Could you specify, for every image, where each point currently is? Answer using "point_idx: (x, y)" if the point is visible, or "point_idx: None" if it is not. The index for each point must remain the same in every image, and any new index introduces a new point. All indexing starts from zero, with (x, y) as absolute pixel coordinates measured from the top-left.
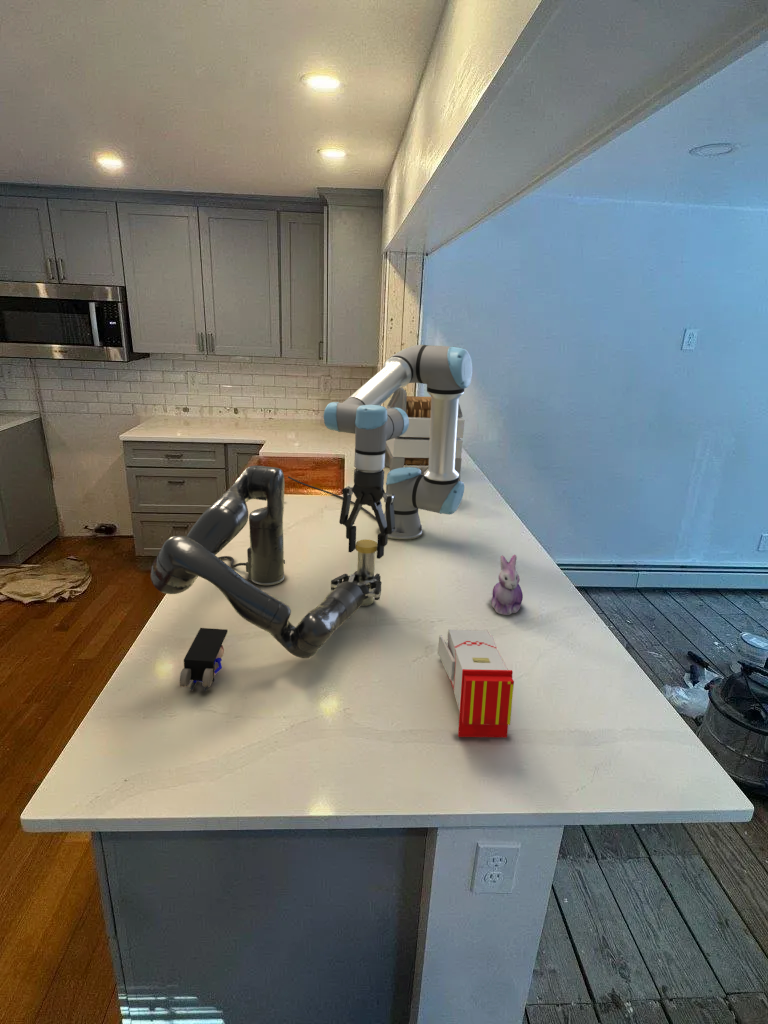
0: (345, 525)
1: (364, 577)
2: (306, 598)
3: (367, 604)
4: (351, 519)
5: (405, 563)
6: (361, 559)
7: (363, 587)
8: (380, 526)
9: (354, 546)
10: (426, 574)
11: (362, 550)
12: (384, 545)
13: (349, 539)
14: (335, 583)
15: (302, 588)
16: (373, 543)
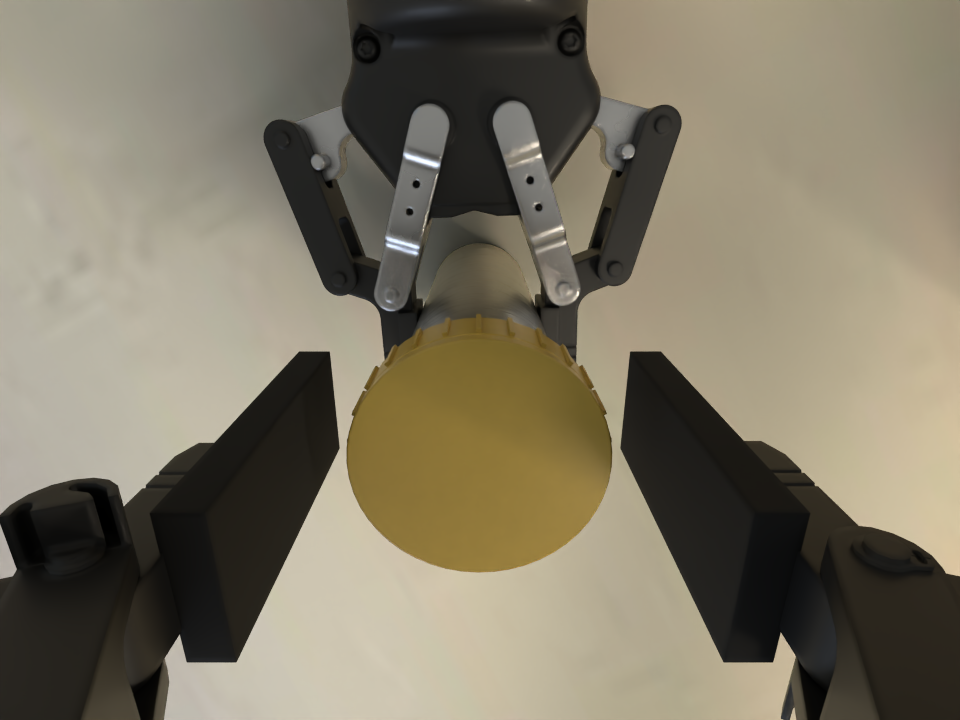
0: (929, 556)
1: (459, 279)
2: (794, 166)
3: (447, 257)
4: (913, 704)
5: (468, 697)
6: (490, 314)
7: (402, 142)
8: (32, 671)
9: (632, 442)
10: (338, 650)
11: (473, 328)
12: (192, 451)
13: (709, 414)
14: (637, 127)
15: (856, 261)
16: (407, 502)
